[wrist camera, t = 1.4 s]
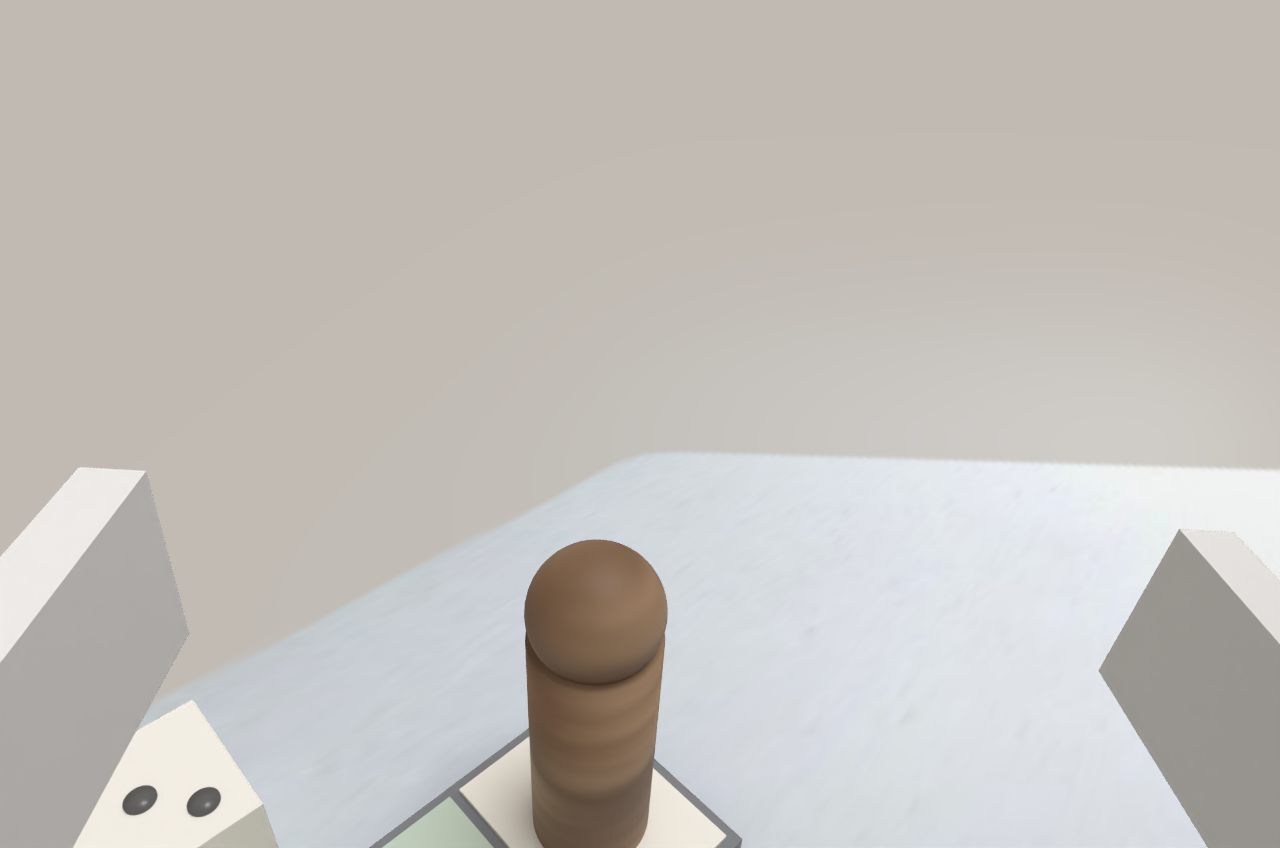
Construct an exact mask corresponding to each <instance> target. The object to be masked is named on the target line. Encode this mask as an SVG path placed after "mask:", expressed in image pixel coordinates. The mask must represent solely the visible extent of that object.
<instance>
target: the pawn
mask: <svg viewBox="0 0 1280 848" xmlns="http://www.w3.org/2000/svg"><path fill="white" fill-rule="evenodd" d="M524 619H525V627H526V636H525V646H526V670H527V693H528V717H529V740H530V763H531V787H532V810H533V824H534V829H535V832H536V835H537V837H538V839H539V841H540V843H541V845H542V846H543V847H544V848H636V847H637V846H638V844H639V843H640V842H641V840H642V838H643V836H644V834H645V831H646V828H647V823H648V815H649V805H650V794H651V784H652V773H653V763H654V753H655V742H656V732H657V721H658V711H659V700H660V690H661V679H662V669H663V658H664V648H665V629H666V624H667V600H666V595H665V591H664V588H663V585H662V583H661V581H660V579H659V577H658V575H657V573H656V572H655V570H654V569H653V567H652V566H651V565H650V564H649V563H648V562H647V561H646V560H645V559H644V558H643V557H642V556H641V555H640V554H639V553H637V552H636V551H634V550H632V549H631V548H629V547H627V546H625V545H622V544H620V543H616V542H613V541H607V540H586V541H580V542H577V543H574V544H571V545H569V546H567V547H565V548H563V549H561V550H559V551H557V552H556V553H555V554H553V555H552V556H551V557H550V558H549V559H548V560H547V561H545V562H544V564H543V565H542V566H541V567H540V568H539V570H538V571H537V573H536V574H535V576H534V577H533V580H532V582H531V584H530V586H529V589H528V592H527V596H526V600H525V611H524Z"/></svg>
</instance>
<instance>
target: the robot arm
mask: <svg viewBox="0 0 1280 848" xmlns="http://www.w3.org/2000/svg"><path fill="white" fill-rule="evenodd" d="M188 635H189V630H188V627H187V623H186V619H185V615H184V611H183V608H182V604H181V601H180V597H179V593H178V589H177V585H176V581H175V577H174V574H173V570H172V566H171V562H170V559H169V555H168V551H167V547H166V543H165V540H164V536H163V532H162V528H161V525H160V521H159V517H158V514H157V509H156V506H155V502H154V498H153V494H152V491H151V487H150V483H149V479H148V476H147V472H146V471H137V470H119V469H101V468H82V467H79V468H78V469H77V470H76V472H75V473H74V474H73V475H72V476H71V477H70V478H69V480H68V481H67V482H66V483H65V484H64V485H63V486H62V487H61V489H60V490H59V491H58V492H57V493H56V494H55V495H54V496H53V498H52V499H51V500H50V501H49V502H48V503H47V505H46V506H45V507H44V508H43V509H42V510H41V511H40V512H39V514H38V515H37V516H36V517H35V518H34V519H33V521H32V522H31V523H30V524H29V525H28V526H27V527H26V528H25V530H24V531H23V532H22V533H21V534H20V535H19V536H18V537H17V539H16V540H15V541H14V542H13V543H12V544H11V545H10V547H9V548H8V549H7V550H6V551H5V552H4V553H3V555H2V556H1V557H0V848H73V847H74V845H75V843H76V841H77V839H78V837H79V835H80V834H81V832H82V830H83V828H84V826H85V824H86V823H87V821H88V819H89V817H90V815H91V813H92V812H93V810H94V808H95V806H96V804H97V802H98V800H99V799H100V797H101V795H102V793H103V791H104V789H105V788H106V786H107V784H108V782H109V780H110V778H111V777H112V775H113V773H114V771H115V769H116V767H117V765H118V764H119V762H120V760H121V758H122V756H123V754H124V753H125V751H126V749H127V747H128V745H129V743H130V742H131V740H132V738H133V736H134V734H135V732H136V731H137V729H138V727H139V725H140V723H141V721H142V719H143V718H144V716H145V714H146V712H147V710H148V708H149V707H150V705H151V703H152V701H153V699H154V697H155V695H156V694H157V692H158V690H159V688H160V686H161V684H162V683H163V681H164V679H165V677H166V675H167V673H168V672H169V670H170V668H171V666H172V664H173V662H174V660H175V659H176V657H177V655H178V653H179V651H180V649H181V648H182V646H183V644H184V642H185V640H186V638H187V637H188ZM1099 672H1100V674H1101V675H1102V677H1103V679H1104V680H1105V682H1106V684H1107V685H1108V687H1109V688H1110V690H1111V692H1112V693H1113V695H1114V696H1115V698H1116V700H1117V701H1118V703H1119V705H1120V706H1121V708H1122V709H1123V711H1124V713H1125V714H1126V716H1127V718H1128V719H1129V721H1130V722H1131V724H1132V726H1133V727H1134V729H1135V730H1136V732H1137V734H1138V735H1139V737H1140V739H1141V740H1142V742H1143V743H1144V745H1145V747H1146V748H1147V750H1148V751H1149V753H1150V755H1151V756H1152V758H1153V760H1154V761H1155V763H1156V764H1157V766H1158V768H1159V769H1160V771H1161V773H1162V774H1163V776H1164V777H1165V779H1166V781H1167V782H1168V784H1169V785H1170V787H1171V789H1172V790H1173V792H1174V794H1175V795H1176V797H1177V798H1178V800H1179V802H1180V803H1181V805H1182V807H1183V808H1184V810H1185V811H1186V813H1187V815H1188V816H1189V818H1190V819H1191V821H1192V823H1193V824H1194V826H1195V828H1196V829H1197V831H1198V832H1199V834H1200V836H1201V837H1202V839H1203V841H1204V842H1205V844H1206V845H1207V847H1208V848H1280V581H1279V579H1278V578H1277V577H1276V576H1275V575H1274V574H1273V573H1272V572H1271V571H1270V570H1269V569H1268V568H1267V567H1266V566H1265V565H1264V564H1263V563H1262V562H1261V561H1260V559H1259V558H1258V557H1257V556H1256V555H1255V554H1254V553H1253V552H1252V551H1251V550H1250V549H1249V548H1248V547H1247V546H1246V545H1245V544H1244V543H1243V542H1242V541H1241V539H1240V538H1239V537H1238V536H1237V535H1236V534H1235V533H1234V532H1223V531H1205V530H1187V529H1179V531H1178V532H1177V534H1176V536H1175V538H1174V539H1173V541H1172V543H1171V545H1170V546H1169V548H1168V550H1167V552H1166V553H1165V555H1164V557H1163V559H1162V560H1161V562H1160V564H1159V566H1158V567H1157V569H1156V571H1155V573H1154V574H1153V576H1152V578H1151V580H1150V581H1149V583H1148V585H1147V587H1146V588H1145V590H1144V592H1143V594H1142V595H1141V597H1140V599H1139V601H1138V602H1137V604H1136V606H1135V608H1134V609H1133V611H1132V613H1131V615H1130V616H1129V618H1128V620H1127V622H1126V624H1125V625H1124V627H1123V629H1122V631H1121V632H1120V634H1119V636H1118V638H1117V639H1116V641H1115V643H1114V645H1113V646H1112V648H1111V650H1110V652H1109V653H1108V655H1107V657H1106V659H1105V660H1104V662H1103V664H1102V666H1101V667H1100V669H1099Z"/></svg>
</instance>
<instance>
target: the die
mask: <svg viewBox="0 0 1280 848" xmlns="http://www.w3.org/2000/svg"><path fill="white" fill-rule="evenodd" d="M73 848H278V845H277V842H276V839H275V836H274V834H273V831H272V828H271V825H270V822H269V820H268V817H267V814H266V811H265V809H264V806H263V804H262V802H261V801H260V799H259V798H258V796H257V795H256V793H255V792H254V790H253V789H252V787H251V786H250V784H249V783H248V781H247V780H246V778H245V777H244V775H243V774H242V772H241V771H240V769H239V768H238V766H237V765H236V763H235V762H234V760H233V759H232V757H231V756H230V754H229V753H228V751H227V750H226V748H225V747H224V745H223V744H222V742H221V741H220V740H219V738H218V737H217V735H216V734H215V732H214V731H213V729H212V728H211V726H210V725H209V723H208V722H207V720H206V719H205V717H204V716H203V714H202V713H201V711H200V710H199V708H198V707H197V705H196V704H195V702H194V701H193V700H191V701H189V702H187V703H185V704H184V705H182V706H180V707H178V708H176V709H175V710H173V711H171V712H169V713H167V714H166V715H164V716H162V717H160V718H158V719H157V720H155V721H153V722H151V723H149V724H148V725H146V726H144V727H142V728H141V729H139V730H137V731H136V732H135V734H134V736H133V738H132V740H131V742H130V743H129V745H128V747H127V749H126V751H125V753H124V754H123V756H122V758H121V760H120V762H119V764H118V765H117V767H116V769H115V771H114V773H113V775H112V777H111V778H110V780H109V782H108V784H107V786H106V788H105V789H104V791H103V793H102V795H101V797H100V799H99V800H98V802H97V804H96V806H95V808H94V810H93V812H92V813H91V815H90V817H89V819H88V821H87V823H86V824H85V826H84V828H83V830H82V832H81V834H80V835H79V837H78V839H77V841H76V843H75V845H74V847H73Z"/></svg>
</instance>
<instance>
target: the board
mask: <svg viewBox="0 0 1280 848" xmlns="http://www.w3.org/2000/svg"><path fill="white" fill-rule="evenodd" d="M741 843H742V838H740V837H739V836H738V835H737V834H736V833H735V832H734V831H733V830H732V829H731V828H730V827H728V826H727V825H726V824H725V823H724V822H723V821H722V820H721V819H720V818H719V817H717V816H716V815H715V814H714V813H713V812H712V811H711V810H710V809H709V808H708V807H707V806H705V805H704V804H703V803H702V802H701V801H700V800H699V799H698V798H697V797H696V796H694V795H693V794H692V793H691V792H690V791H689V790H688V789H687V788H686V787H685V786H684V785H682V784H681V783H680V782H679V781H678V780H677V779H676V778H675V777H674V776H673V775H671V774H670V773H669V772H668V771H667V770H666V769H665V768H664V767H663V766H662V765H660V764H659V763H658V762H657V761H656V760H655V759H654V763H653V773H652V784H651V794H650V805H649V815H648V823H647V828H646V831H645V834H644V836H643V838H642V840H641V842H640V843H639V844H638V846H637V847H636V848H740V847H741ZM370 848H544V847H543V846H542V845H541V843H540V841H539V839H538V837H537V835H536V832H535V829H534V824H533V810H532V787H531V763H530V740H529V729H527V730H526V731H525V732H523V733H522V734H521V735H519V736H518V737H517V738H515V739H514V740H513V741H511V742H510V743H509V744H507V745H506V746H505V747H503V748H502V749H501V750H499V751H498V752H497V753H495V754H494V755H493V756H491V757H490V758H488V759H487V760H486V761H484V762H483V763H482V764H480V765H479V766H478V767H476V768H475V769H474V770H472V771H471V772H470V773H468V774H467V775H466V776H464V777H463V778H462V779H460V780H459V781H458V782H456V783H455V784H454V785H452V786H451V787H450V788H448V789H447V790H446V791H444V792H443V793H442V794H440V795H439V796H438V797H436V798H435V799H434V800H432V801H431V802H430V803H428V804H427V805H426V806H424V807H423V808H422V809H420V810H419V811H418V812H416V813H415V814H414V815H412V816H411V817H410V818H408V819H407V820H406V821H404V822H403V823H402V824H400V825H399V826H398V827H396V828H395V829H394V830H392V831H391V832H390V833H388V834H387V835H386V836H384V837H383V838H382V839H380V840H379V841H378V842H376V843H375V844H374V845H372V846H371V847H370Z"/></svg>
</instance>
